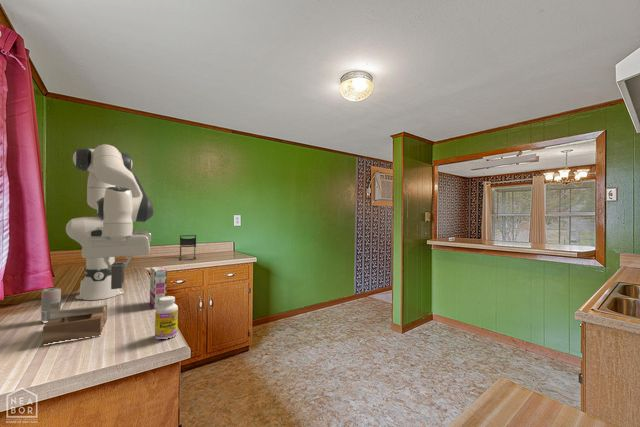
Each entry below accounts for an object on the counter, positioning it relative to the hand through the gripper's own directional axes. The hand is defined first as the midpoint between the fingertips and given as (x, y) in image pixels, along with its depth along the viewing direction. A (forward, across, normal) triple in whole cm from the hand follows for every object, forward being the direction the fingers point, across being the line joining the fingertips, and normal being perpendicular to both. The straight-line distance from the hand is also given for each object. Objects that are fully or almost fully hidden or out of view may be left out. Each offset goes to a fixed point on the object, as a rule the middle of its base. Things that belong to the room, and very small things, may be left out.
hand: (117, 268), depth 102 cm
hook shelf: (+21, +11, 0) cm, 23 cm away
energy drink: (+21, +22, -18) cm, 35 cm away
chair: (+22, -40, -148) cm, 156 cm away
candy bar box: (+21, -14, -19) cm, 31 cm away
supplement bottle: (+21, -15, +19) cm, 32 cm away
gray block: (+6, 0, 0) cm, 6 cm away
